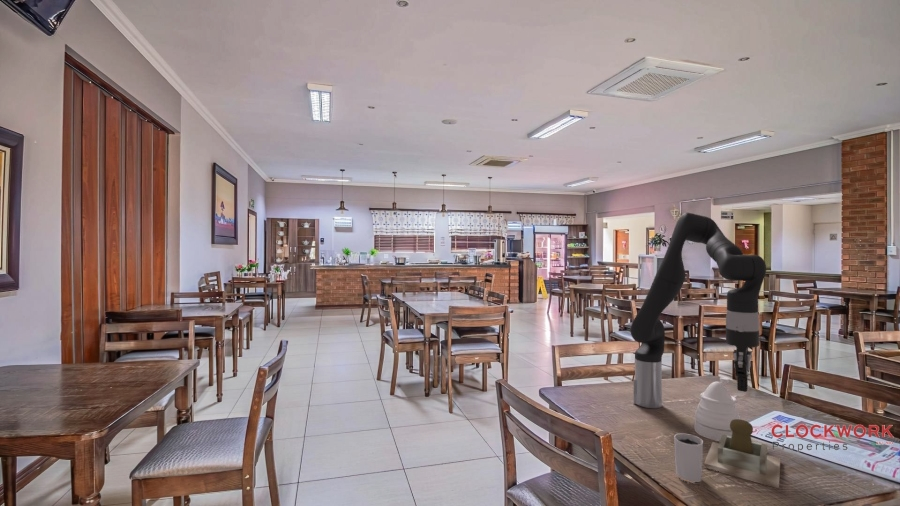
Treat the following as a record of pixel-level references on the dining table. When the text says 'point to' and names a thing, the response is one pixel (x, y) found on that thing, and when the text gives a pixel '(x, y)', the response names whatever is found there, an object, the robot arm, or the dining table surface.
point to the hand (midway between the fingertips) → (742, 390)
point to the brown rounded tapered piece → (741, 436)
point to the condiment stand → (744, 462)
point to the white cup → (688, 456)
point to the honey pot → (716, 411)
